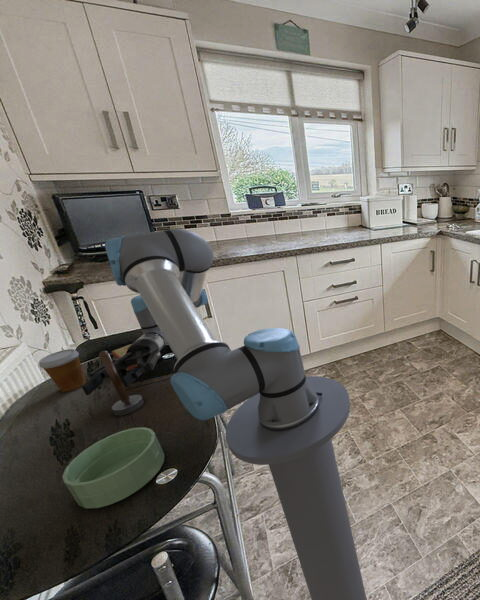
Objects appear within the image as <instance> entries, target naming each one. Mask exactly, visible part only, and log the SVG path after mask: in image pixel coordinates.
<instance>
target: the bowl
mask: <svg viewBox="0 0 480 600" xmlns="http://www.w3.org/2000/svg"><path fill="white" fill-rule="evenodd" d="M164 462H165V453H164V450H163V448H162V446H161V444H160V441H159V439H158V437H157V434H156V433H155V432H154V431H153V429H152V428H148V427H145V426H143V427H132V428H128V429H124V430H120V431H118V432H115V433H113V434H110V435H109V436H106V437H104V438H102V439H100V440H98V441H96V442H94V443H93V444H91V445H90V446H89V447H87V448H86V449H84V450H82V451H81V452H80V453H78V455H76V456H75V457H74V458H73V459H72V460H71V461H70V463H68V465H66V467H65V469H64V472H63V474H62V480H63V483H64V484H65V487H66V488H67V489H68V490H69V492H70V494H71V496H72V497H73V500H74V501H75V502H76V503H77V505H78V506H79V507H80V508H83V509H86V510H87V509H88V510H89V509H100V508H104V507H107V506H110V505H113V504H115V503H117V502H120V501H123V500H125V499H126V498H128V497H130V496H132V495H133V494H134V493H136V492H138V491H139V490H141V489H142V488H143V487H144V486H146V485H147V484H148V483H149V482H150V481H151V480H153V478H154V477H155V476H156V475H157V474H158V472H159V471H160V470H161V468H162V466H163V465H164Z"/></svg>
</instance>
